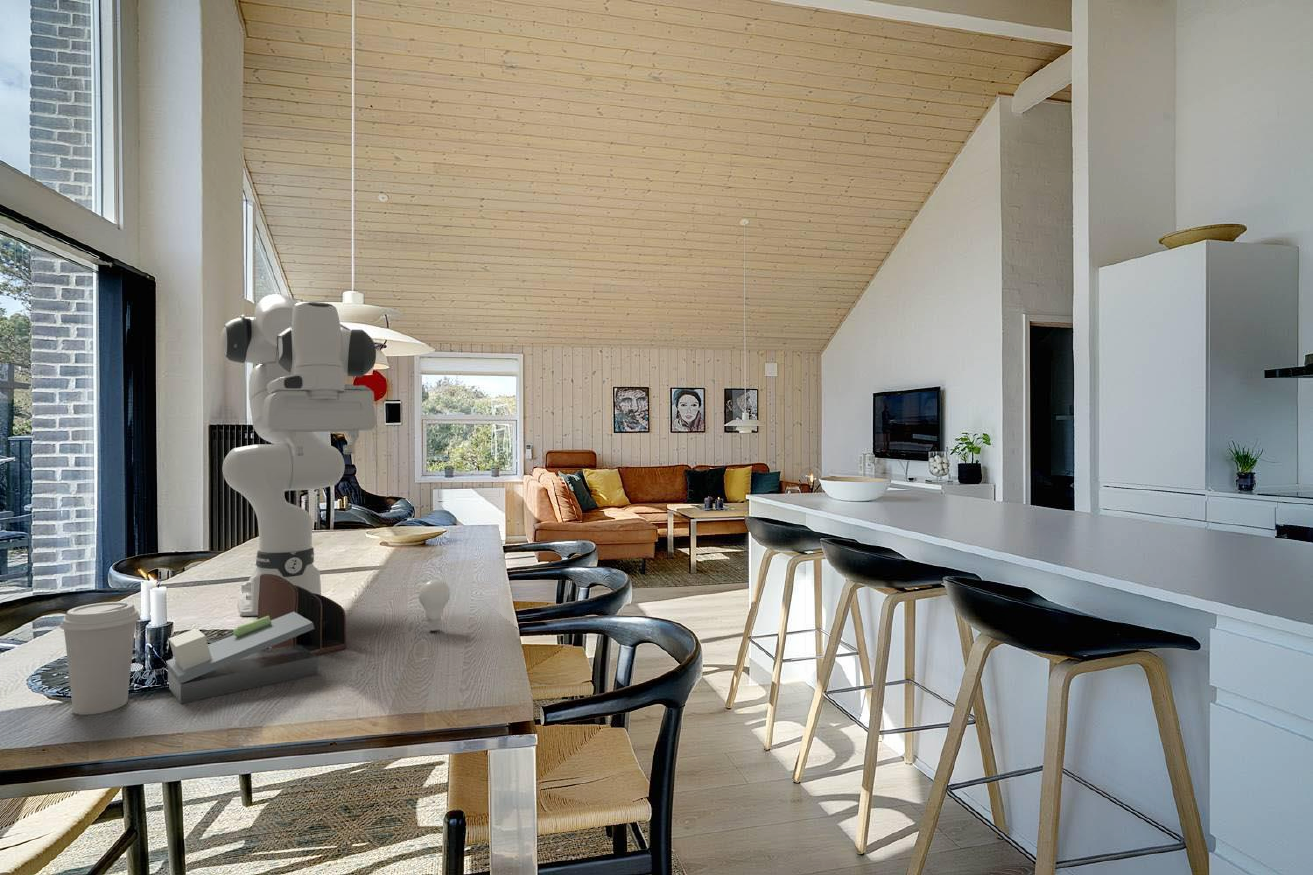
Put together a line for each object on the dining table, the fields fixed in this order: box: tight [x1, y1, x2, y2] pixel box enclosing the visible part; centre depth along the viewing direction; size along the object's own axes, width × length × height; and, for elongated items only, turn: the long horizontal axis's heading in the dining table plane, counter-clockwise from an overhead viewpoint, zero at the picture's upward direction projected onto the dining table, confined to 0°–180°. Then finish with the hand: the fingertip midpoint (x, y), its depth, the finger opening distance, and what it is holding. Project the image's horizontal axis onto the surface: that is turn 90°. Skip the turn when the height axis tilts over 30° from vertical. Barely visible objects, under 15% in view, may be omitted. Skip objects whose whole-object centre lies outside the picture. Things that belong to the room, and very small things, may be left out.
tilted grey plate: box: [165, 612, 314, 683], centre depth 118 cm, size 10×20×5 cm, turn 134°
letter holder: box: [257, 574, 347, 656], centre depth 140 cm, size 10×20×14 cm, turn 47°
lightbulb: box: [418, 578, 451, 633], centre depth 149 cm, size 6×6×11 cm
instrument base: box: [167, 644, 319, 705], centre depth 119 cm, size 10×20×3 cm, turn 134°
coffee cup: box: [59, 601, 141, 716], centre depth 107 cm, size 10×10×15 cm
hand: (324, 454), depth 136 cm, fingers open, 8 cm apart
